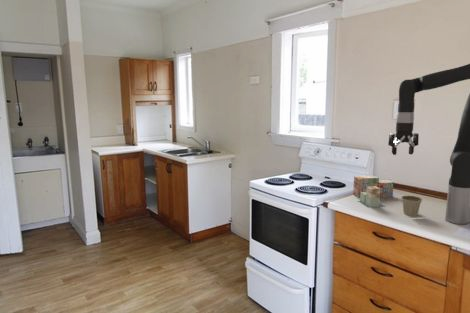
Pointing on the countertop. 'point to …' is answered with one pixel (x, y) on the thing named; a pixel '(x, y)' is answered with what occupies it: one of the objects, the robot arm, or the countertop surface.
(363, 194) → the sage block far
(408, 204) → the flower pot
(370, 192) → the maple block
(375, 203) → the sage block near
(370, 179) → the stack of blocks
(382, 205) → the build mat
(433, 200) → the countertop surface
